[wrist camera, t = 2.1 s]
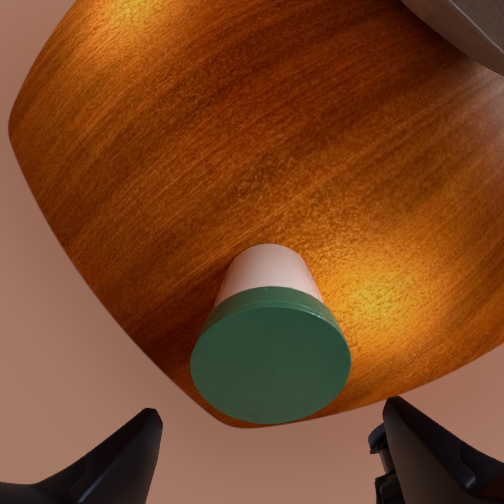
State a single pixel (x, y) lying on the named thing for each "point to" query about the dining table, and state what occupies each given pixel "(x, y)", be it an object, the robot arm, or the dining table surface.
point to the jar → (267, 272)
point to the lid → (270, 356)
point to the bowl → (467, 26)
